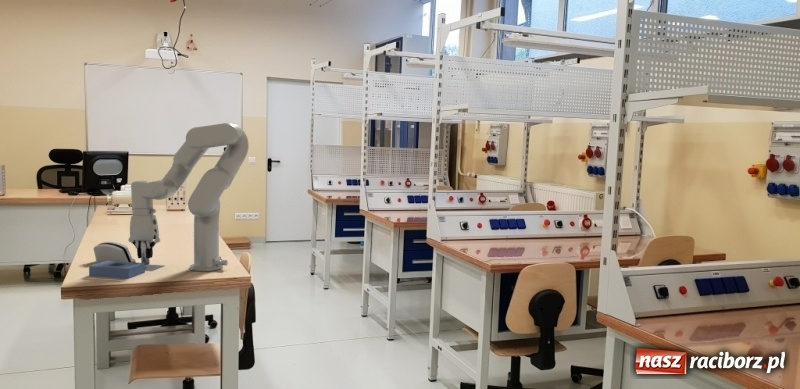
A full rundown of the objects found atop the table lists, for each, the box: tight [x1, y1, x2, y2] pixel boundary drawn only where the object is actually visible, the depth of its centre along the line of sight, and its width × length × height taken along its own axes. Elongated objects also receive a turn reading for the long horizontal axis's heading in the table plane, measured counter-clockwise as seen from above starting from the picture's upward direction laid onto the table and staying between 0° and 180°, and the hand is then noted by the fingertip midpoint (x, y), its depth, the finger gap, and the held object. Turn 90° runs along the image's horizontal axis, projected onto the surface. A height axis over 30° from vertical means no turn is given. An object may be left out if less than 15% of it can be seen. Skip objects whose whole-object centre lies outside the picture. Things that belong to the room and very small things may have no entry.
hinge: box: [93, 241, 137, 263], centre depth 235 cm, size 17×5×10 cm, turn 70°
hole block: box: [88, 261, 146, 280], centre depth 215 cm, size 16×10×4 cm, turn 82°
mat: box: [145, 264, 165, 272], centre depth 228 cm, size 14×10×1 cm
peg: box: [140, 241, 151, 265], centre depth 227 cm, size 3×3×10 cm
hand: (145, 257), depth 227 cm, fingers closed on peg, 3 cm apart
